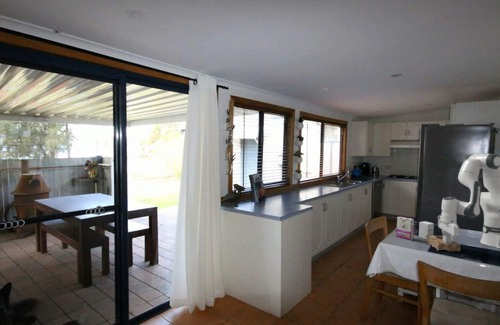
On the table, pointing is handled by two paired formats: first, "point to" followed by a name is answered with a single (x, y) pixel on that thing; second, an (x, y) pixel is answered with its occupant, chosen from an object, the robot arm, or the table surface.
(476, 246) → the table surface
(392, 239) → the table surface
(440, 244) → the socket block
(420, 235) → the supplement box
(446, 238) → the plug
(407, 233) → the candy bar box
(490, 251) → the table surface
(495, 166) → the robot arm
